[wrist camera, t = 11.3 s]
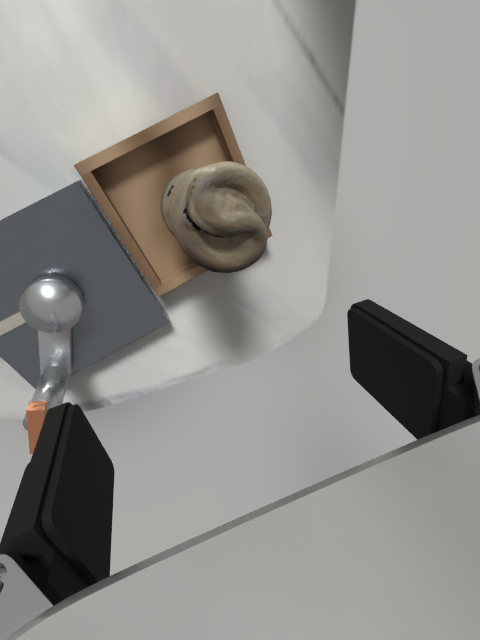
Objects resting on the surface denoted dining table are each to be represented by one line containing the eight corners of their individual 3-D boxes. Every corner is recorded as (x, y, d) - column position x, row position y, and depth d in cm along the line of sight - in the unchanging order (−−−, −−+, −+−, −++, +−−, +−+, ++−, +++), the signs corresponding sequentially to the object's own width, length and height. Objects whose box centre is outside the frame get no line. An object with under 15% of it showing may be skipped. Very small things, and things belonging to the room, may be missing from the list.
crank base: (80, 179, 27) (76, 181, 25) (167, 313, 34) (169, 322, 32) (-91, 266, 26) (-109, 275, 24) (34, 385, 33) (29, 398, 31)
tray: (210, 97, 27) (218, 92, 25) (262, 230, 33) (272, 235, 31) (78, 164, 26) (73, 165, 24) (156, 287, 32) (158, 296, 30)
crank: (23, 272, 26) (-15, 314, 20) (83, 277, 28) (68, 318, 21) (32, 387, 31) (3, 455, 24) (83, 386, 32) (71, 450, 25)
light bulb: (147, 164, 27) (171, 163, 14) (212, 162, 28) (289, 158, 16) (157, 234, 29) (185, 288, 16) (216, 228, 31) (286, 274, 18)
